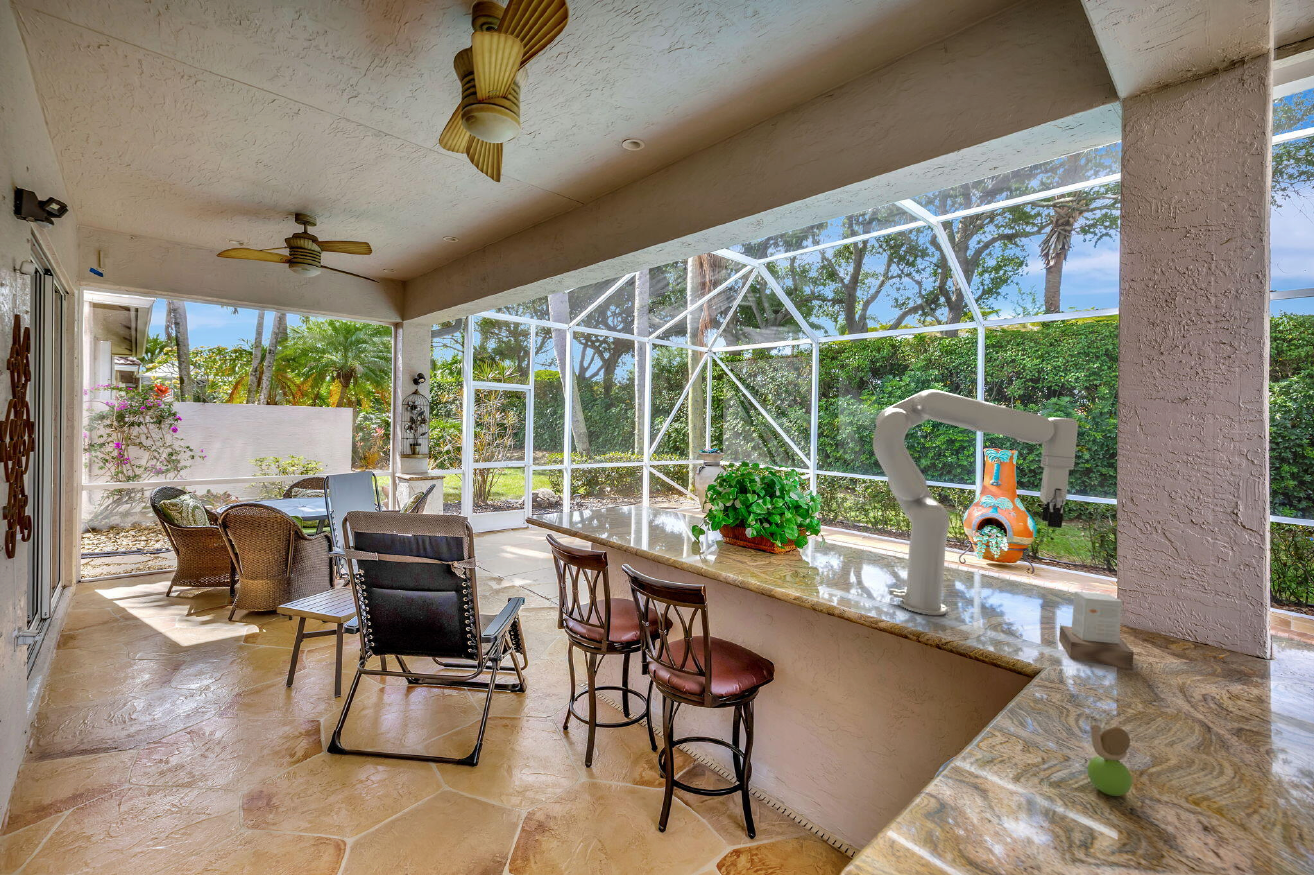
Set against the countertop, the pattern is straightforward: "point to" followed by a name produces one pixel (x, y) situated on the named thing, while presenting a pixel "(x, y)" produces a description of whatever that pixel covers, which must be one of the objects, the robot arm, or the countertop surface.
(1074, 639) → the walnut plinth
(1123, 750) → the snail figurine
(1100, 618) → the small box
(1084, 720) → the countertop surface
